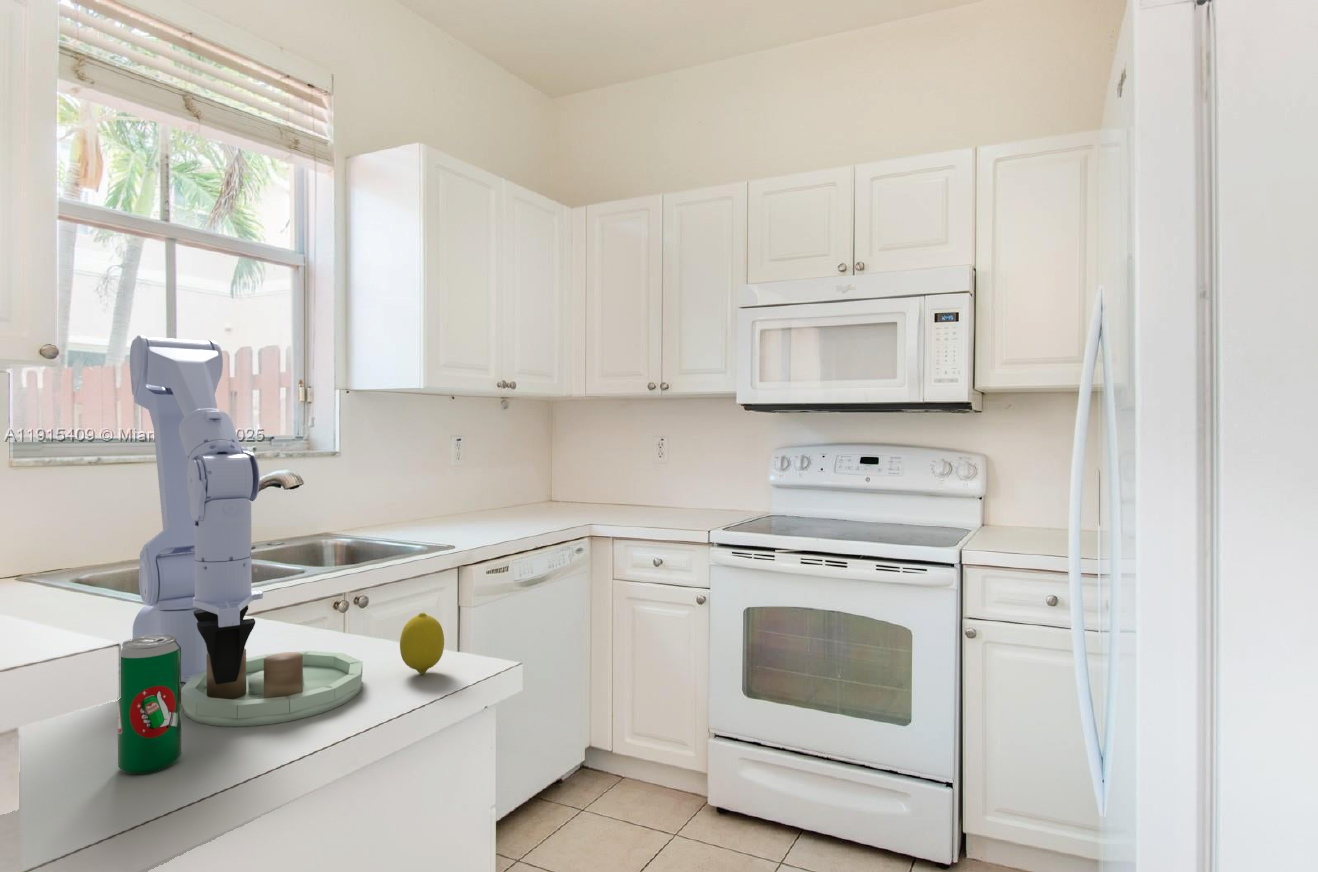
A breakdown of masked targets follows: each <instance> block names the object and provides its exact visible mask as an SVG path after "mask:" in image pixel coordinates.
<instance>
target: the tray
mask: <svg viewBox="0 0 1318 872" xmlns="http://www.w3.org/2000/svg"><path fill="white" fill-rule="evenodd" d="M296 652H297V653H301V654H302V655H303V692H302V693H298V694H294V695H291V696H285V697H275V698H265V699H264V658H266V657H267V656H270V655H273V654H274V653H267V654H261V655H257V656H256V655H255V656H251V657H246V694H245V695H244V696H242V697H240V698H237V699H233V700H232V699H221V698H209V697H208V696H207V670H206V671H203V672H201V673H199V674H196V675H194V676H191V678H190V679H189V680H188V681H187V682H185V684H184V685H183V686H182V687H181V706H183V713H184V715H185V716H186V718H188V719H190V720H192V721H194V722H197V723H198V724H199V723H200V724H204V725H209V726H216V727H217V726H218V727H256V726H257V727H258V726H264V725H265V726H266V725H267V726H268V725H274V724H281V723H287V722H292V721H296V720H301V719H305V718H309V717H313V716H315V715H319V714H322V713H325V712H328V711H330V710H334V709H335V708H339V707H340V706H342V705H344V704H346V703H348V702H350V701H351V700H353V699H354V698H355V697H356V696H358V695H359V694H360V692H361V689H362V686H363V685H362V678H363V661H362V660H360V659H358V658H354V657H352V656H350V655H348V654H346V653H342V652H341V653H340V652H330V651H329V652H328V651H317V650H316V651H315V650H303V651H302V650H301V651H296ZM278 653H279V652H277V653H275V654H278Z"/></svg>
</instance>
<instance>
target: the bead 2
mask: <svg viewBox="0 0 1318 872" xmlns="http://www.w3.org/2000/svg"><path fill="white" fill-rule="evenodd" d="M297 652H298V651H292V652H291V651H290V652H289V651H287V652H277V653H278V654H276V653H272V654H273V655H270V656H267V657H266V658H264V699H265V698H275V697H285V696H291V695H294V694H298V693H302V692H303V655H302V654H301V653H297Z"/></svg>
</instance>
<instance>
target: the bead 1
mask: <svg viewBox="0 0 1318 872" xmlns="http://www.w3.org/2000/svg"><path fill="white" fill-rule="evenodd" d="M246 658H247V649H246V648H244V651H243V656H242V661H241V666H240V671H239V675H238V678H237V681H235V682H229V683H223V684H216V683H215V680H214V677H213V673H212V668H211V662H210V656H209V653H207V696H208V697H209V698H221V699H232V700H233V699H237V698H240V697H242V696H244V695H245V694H246Z"/></svg>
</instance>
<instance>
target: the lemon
mask: <svg viewBox="0 0 1318 872" xmlns="http://www.w3.org/2000/svg"><path fill="white" fill-rule="evenodd" d="M399 640H400V641H399V650H400V651H399V652H400V655H401V659H402V661H403V663H405V665H406V666H408V667H409V668H410V669H412V670H415V671H416V672H417V673H419V674H420V675H423V674H425V673H426V672H428V670H429V669H430V668H433V667H435V665H437V664H438V662H439V661H440V660H441V658H442V656H443V653H444V649H445V635H444V631H443V628H442V625H441V623H440V622H439V621H438V620H437V619H436V618H435V617H433V616H431V615H429V614H426V613H425V612H420V613H419V614H418V615H416V616H414V617H412V618H411V619H409V620H408V621H407V622H406V624H405V625H404V626H403V629H402V631H401V634H400V639H399Z"/></svg>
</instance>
